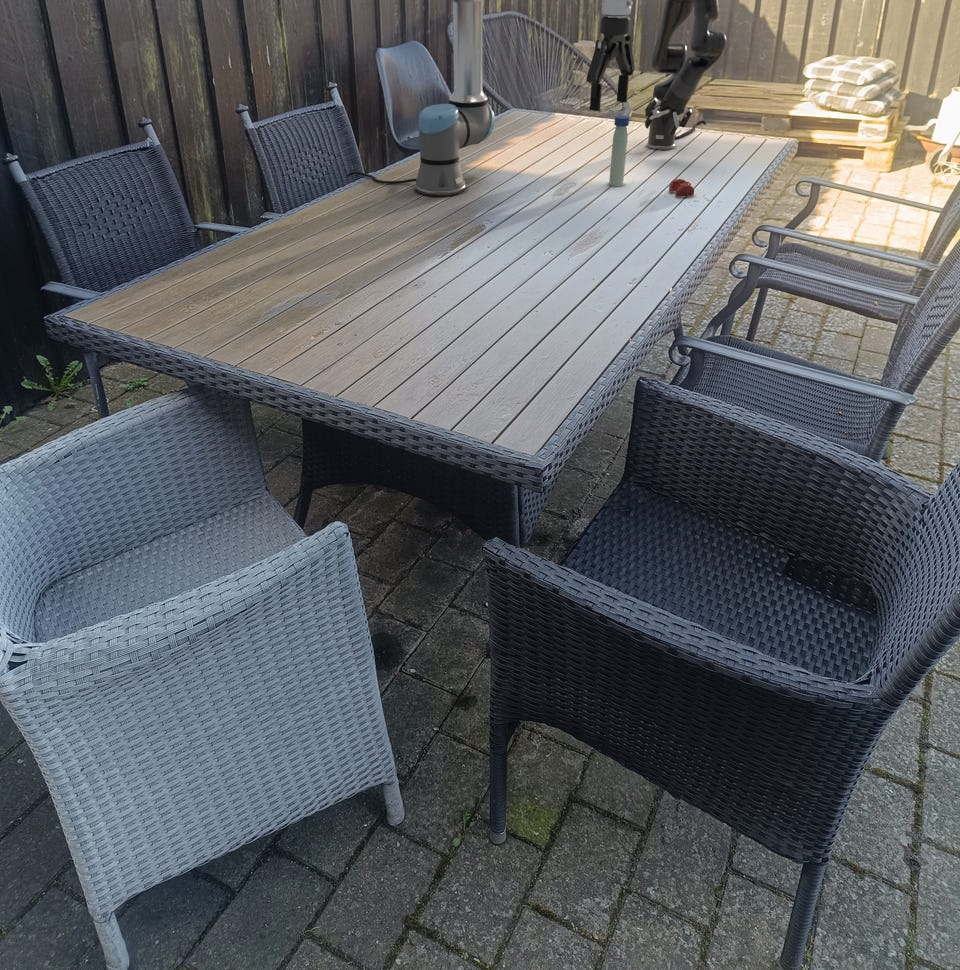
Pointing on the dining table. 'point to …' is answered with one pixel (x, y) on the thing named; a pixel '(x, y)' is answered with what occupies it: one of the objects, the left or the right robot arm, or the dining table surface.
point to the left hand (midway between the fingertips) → (608, 106)
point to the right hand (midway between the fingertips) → (658, 130)
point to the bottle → (618, 156)
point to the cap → (621, 121)
